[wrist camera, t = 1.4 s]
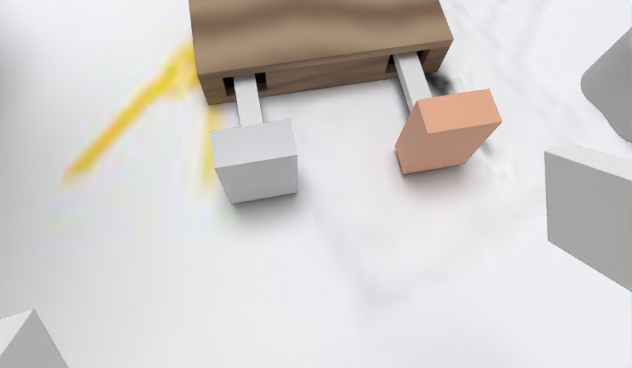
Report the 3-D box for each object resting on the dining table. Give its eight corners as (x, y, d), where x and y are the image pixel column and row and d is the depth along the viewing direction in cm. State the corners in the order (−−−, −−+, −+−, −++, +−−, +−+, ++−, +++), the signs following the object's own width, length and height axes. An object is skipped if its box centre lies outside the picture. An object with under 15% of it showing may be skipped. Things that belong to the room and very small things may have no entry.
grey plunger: (297, 192, 38) (297, 154, 31) (230, 203, 38) (214, 168, 30) (275, 77, 43) (270, 20, 35) (215, 86, 42) (197, 29, 35)
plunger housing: (437, 71, 45) (453, 39, 40) (208, 104, 42) (197, 74, 37) (411, -2, 48) (423, -39, 43) (198, 25, 46) (187, -12, 41)
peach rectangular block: (464, 163, 40) (502, 121, 33) (403, 174, 39) (427, 133, 32) (426, 56, 44) (452, -3, 37) (371, 64, 44) (386, 5, 36)
